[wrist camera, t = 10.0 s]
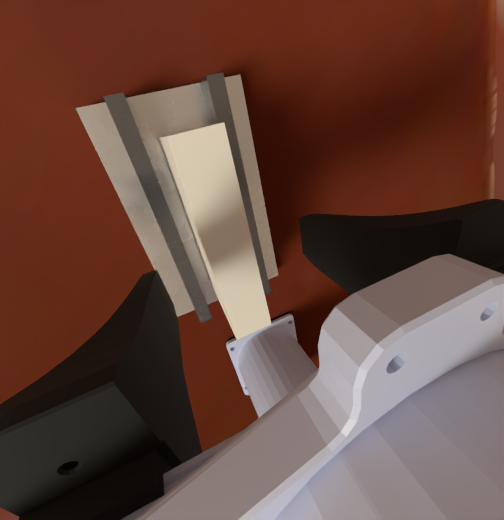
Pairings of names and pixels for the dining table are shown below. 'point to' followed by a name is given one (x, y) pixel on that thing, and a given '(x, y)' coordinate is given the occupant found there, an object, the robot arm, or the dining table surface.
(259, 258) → the bottom track
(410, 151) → the dining table surface
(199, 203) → the door panel
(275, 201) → the dining table surface
